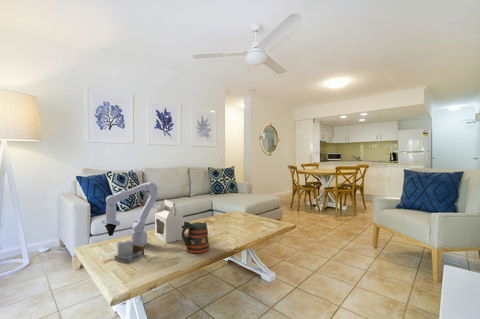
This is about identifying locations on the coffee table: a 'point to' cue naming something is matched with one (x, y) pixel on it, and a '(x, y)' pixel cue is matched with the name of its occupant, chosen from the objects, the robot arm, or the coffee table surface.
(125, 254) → the medicine box
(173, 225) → the gable box
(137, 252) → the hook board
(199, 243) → the beer stein
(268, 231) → the coffee table surface
